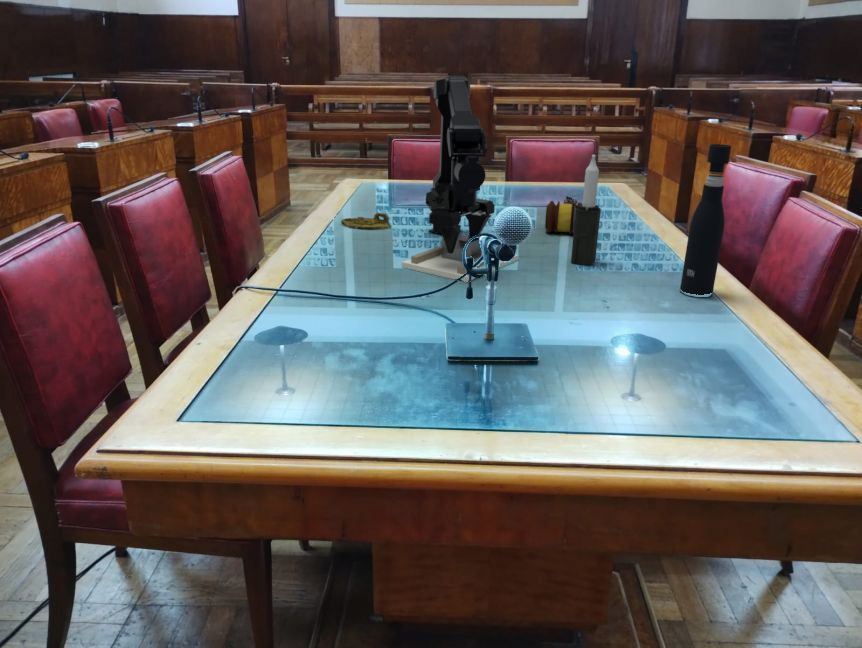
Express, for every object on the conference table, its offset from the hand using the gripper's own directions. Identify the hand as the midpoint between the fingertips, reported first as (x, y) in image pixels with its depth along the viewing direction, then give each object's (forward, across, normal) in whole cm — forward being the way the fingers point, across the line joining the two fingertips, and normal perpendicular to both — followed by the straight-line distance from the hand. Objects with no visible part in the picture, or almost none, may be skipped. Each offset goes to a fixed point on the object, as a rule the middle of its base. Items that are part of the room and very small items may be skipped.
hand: (461, 248), depth 160 cm
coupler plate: (+4, 0, 0) cm, 4 cm away
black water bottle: (+4, -13, +50) cm, 52 cm away
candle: (+4, -19, +22) cm, 29 cm away
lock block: (+2, 0, 0) cm, 2 cm away
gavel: (+4, -52, +2) cm, 52 cm away
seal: (+4, -14, -41) cm, 44 cm away
